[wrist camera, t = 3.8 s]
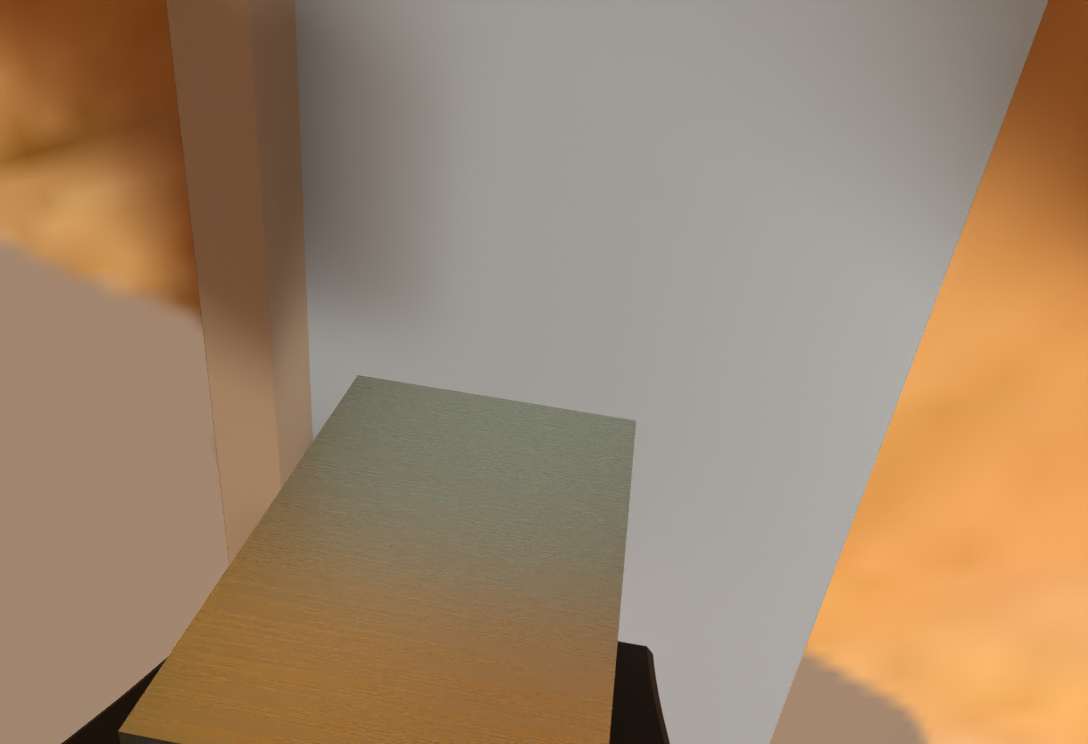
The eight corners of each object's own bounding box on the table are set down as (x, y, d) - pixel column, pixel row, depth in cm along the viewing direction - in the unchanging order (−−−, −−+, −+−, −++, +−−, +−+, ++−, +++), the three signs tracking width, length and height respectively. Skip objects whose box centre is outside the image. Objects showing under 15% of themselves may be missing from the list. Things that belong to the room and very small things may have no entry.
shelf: (1169, -395, 13) (1292, -465, 10) (734, 803, 28) (739, 896, 25) (198, -489, 14) (87, -573, 11) (287, 716, 29) (249, 796, 27)
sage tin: (636, 420, 12) (601, 826, 7) (582, 708, 15) (528, 1143, 10) (346, 373, 12) (101, 728, 7) (351, 663, 15) (179, 1065, 10)
